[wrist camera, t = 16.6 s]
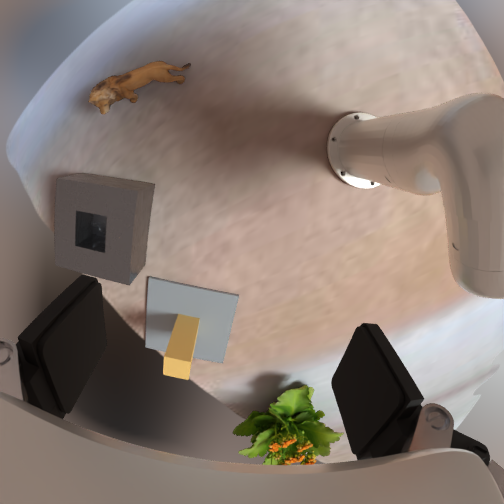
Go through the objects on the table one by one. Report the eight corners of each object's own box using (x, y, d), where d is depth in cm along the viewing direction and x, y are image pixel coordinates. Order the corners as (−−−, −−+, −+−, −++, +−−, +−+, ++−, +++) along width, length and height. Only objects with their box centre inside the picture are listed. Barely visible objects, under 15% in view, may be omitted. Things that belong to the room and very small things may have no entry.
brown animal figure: (116, 122, 37) (90, 117, 29) (106, 96, 36) (79, 87, 27) (197, 77, 36) (187, 59, 28) (184, 52, 34) (172, 30, 26)
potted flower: (353, 403, 61) (373, 455, 45) (287, 444, 66) (294, 492, 50) (291, 364, 55) (306, 431, 38) (219, 414, 60) (217, 473, 44)
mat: (238, 294, 48) (238, 296, 48) (222, 361, 54) (222, 363, 53) (149, 276, 47) (148, 277, 46) (146, 345, 52) (145, 347, 51)
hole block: (155, 184, 41) (137, 190, 34) (145, 264, 46) (129, 285, 38) (82, 173, 40) (56, 178, 32) (78, 248, 44) (55, 265, 37)
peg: (199, 318, 49) (190, 362, 38) (197, 335, 50) (188, 379, 39) (178, 313, 49) (164, 356, 37) (176, 330, 50) (163, 374, 39)
